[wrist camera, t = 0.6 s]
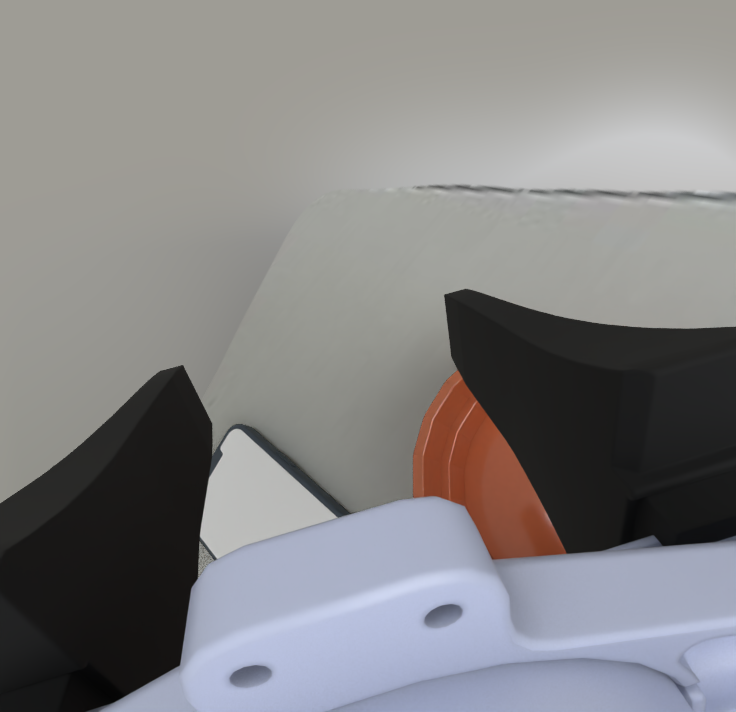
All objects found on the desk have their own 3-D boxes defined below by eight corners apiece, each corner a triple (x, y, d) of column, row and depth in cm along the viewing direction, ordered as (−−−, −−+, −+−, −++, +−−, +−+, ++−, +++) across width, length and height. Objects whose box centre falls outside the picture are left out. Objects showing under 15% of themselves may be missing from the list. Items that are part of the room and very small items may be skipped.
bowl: (796, 441, 20) (828, 412, 16) (637, 706, 19) (628, 744, 15) (525, 328, 28) (500, 290, 24) (410, 513, 28) (367, 506, 24)
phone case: (391, 544, 28) (249, 420, 37) (378, 544, 26) (234, 415, 36) (316, 674, 27) (192, 515, 37) (300, 680, 26) (175, 514, 36)
